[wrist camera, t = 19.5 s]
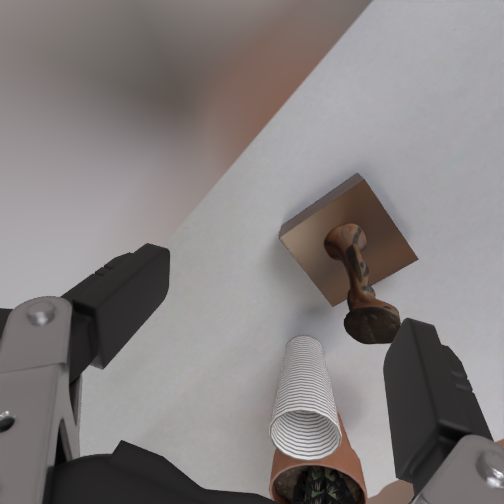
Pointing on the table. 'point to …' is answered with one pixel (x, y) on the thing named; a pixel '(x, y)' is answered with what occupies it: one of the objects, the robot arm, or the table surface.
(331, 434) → the cup
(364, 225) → the walnut block
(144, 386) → the table surface
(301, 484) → the potted plant
